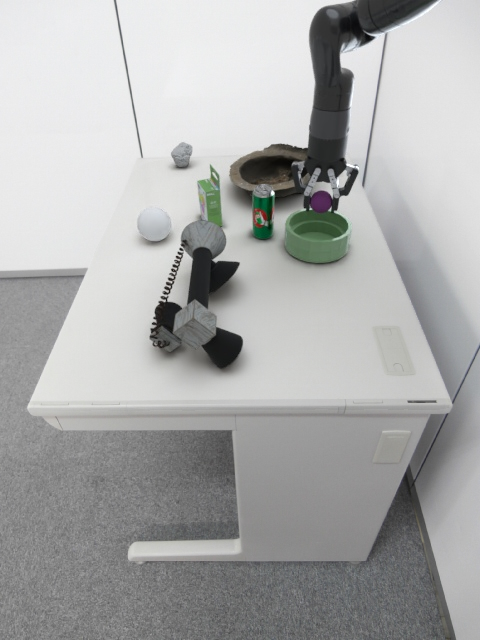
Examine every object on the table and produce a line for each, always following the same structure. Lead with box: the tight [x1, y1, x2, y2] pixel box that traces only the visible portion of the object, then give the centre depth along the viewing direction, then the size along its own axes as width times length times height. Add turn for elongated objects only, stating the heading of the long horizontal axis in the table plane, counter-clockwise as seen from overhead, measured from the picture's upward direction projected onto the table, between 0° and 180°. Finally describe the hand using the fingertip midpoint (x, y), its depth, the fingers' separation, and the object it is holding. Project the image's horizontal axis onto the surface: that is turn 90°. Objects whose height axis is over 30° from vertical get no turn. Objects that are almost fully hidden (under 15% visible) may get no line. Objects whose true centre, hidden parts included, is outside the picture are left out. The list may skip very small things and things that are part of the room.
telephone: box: [149, 219, 244, 369], centre depth 82 cm, size 15×13×30 cm
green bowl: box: [283, 207, 353, 264], centre depth 100 cm, size 15×15×6 cm
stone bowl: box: [228, 143, 310, 198], centre depth 120 cm, size 25×25×9 cm
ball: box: [136, 206, 172, 242], centre depth 104 cm, size 8×8×8 cm
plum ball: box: [310, 189, 333, 213], centre depth 94 cm, size 5×5×5 cm
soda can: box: [251, 184, 276, 240], centre depth 102 cm, size 5×5×12 cm
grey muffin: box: [170, 141, 193, 168], centre depth 134 cm, size 6×7×7 cm
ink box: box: [196, 163, 223, 227], centre depth 107 cm, size 7×4×13 cm, turn 20°
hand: (320, 210), depth 96 cm, fingers closed on plum ball, 4 cm apart
